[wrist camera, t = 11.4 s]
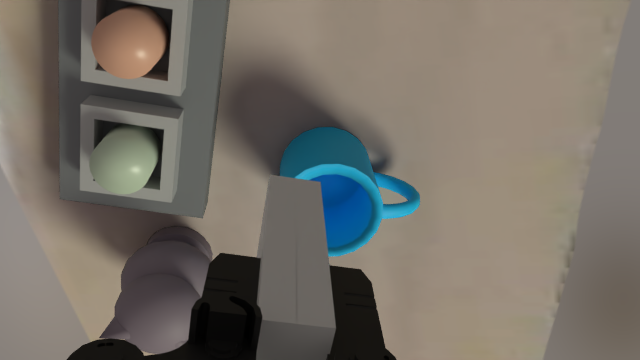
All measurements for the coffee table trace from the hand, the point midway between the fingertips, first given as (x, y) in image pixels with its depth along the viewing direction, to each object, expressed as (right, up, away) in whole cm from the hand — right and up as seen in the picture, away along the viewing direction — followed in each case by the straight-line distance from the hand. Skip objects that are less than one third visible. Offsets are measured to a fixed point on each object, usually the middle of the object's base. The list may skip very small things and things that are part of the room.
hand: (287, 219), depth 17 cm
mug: (+3, +2, +35) cm, 36 cm away
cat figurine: (-12, -6, +38) cm, 41 cm away
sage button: (-14, +4, +29) cm, 33 cm away
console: (-13, +13, +29) cm, 34 cm away
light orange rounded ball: (-12, +12, +26) cm, 31 cm away
